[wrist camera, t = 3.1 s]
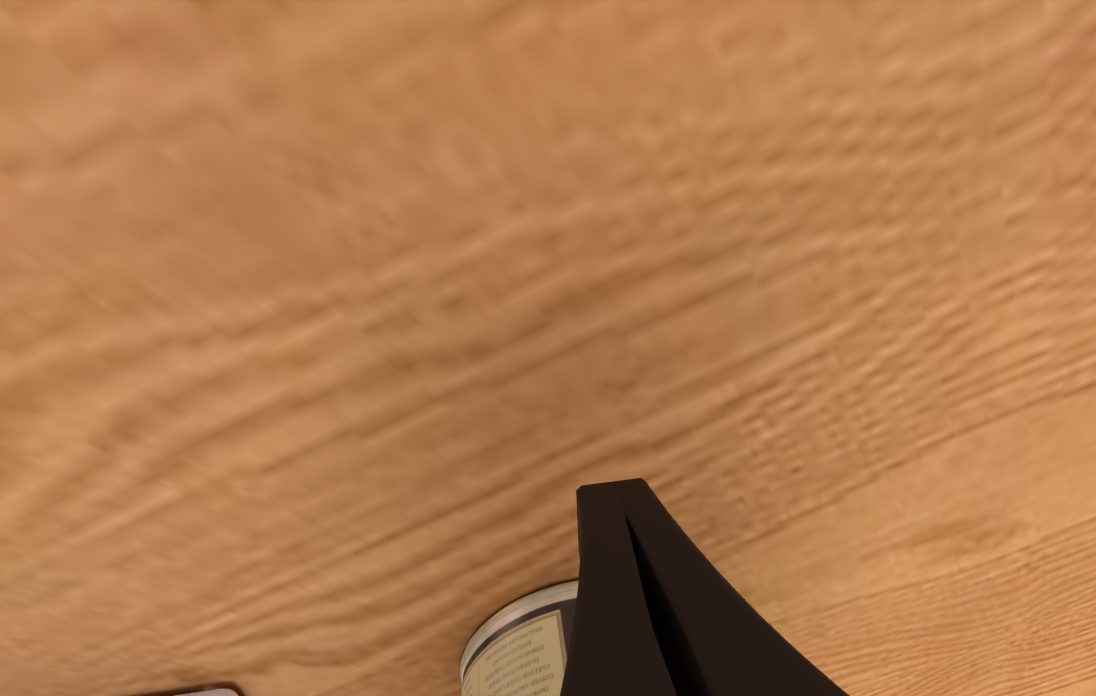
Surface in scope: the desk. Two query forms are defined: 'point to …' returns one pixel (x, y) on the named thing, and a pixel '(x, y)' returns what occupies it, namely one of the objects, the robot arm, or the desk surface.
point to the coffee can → (522, 646)
